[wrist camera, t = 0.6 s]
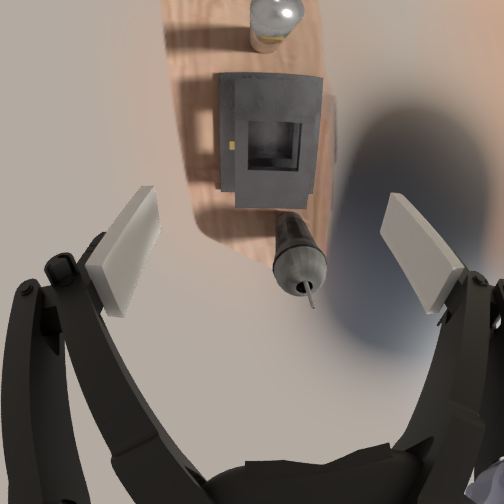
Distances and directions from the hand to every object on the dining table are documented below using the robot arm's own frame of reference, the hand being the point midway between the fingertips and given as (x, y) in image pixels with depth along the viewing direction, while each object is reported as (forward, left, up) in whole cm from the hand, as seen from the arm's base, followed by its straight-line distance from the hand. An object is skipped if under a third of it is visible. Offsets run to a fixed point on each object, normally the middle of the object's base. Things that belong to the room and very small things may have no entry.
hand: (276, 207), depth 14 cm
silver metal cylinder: (-13, 0, -27) cm, 30 cm away
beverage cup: (+16, +5, -27) cm, 31 cm away
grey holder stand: (+1, +1, -27) cm, 26 cm away
